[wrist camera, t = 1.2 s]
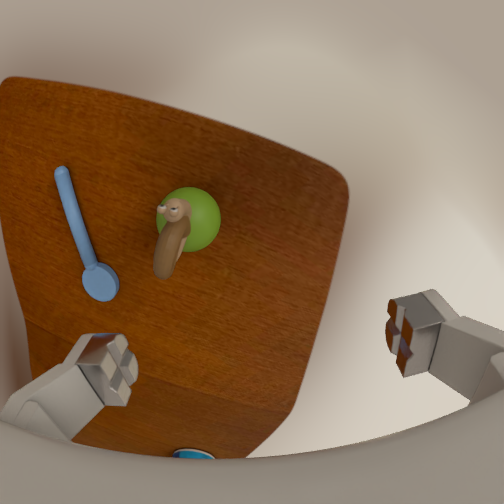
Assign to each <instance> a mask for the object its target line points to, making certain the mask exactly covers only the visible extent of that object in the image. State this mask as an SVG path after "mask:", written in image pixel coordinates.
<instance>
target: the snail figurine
mask: <svg viewBox="0 0 504 504" xmlns="http://www.w3.org/2000/svg"><path fill="white" fill-rule="evenodd" d="M156 223H157V228H158V231H159V234H160V235H159V238H158V240H157V244H156V247H155V252H154V264H153V269H154V273H155V275H156V276H157V277H158V278H160V279H167V278H169V277H170V276H171V275H172V273H173V270H174V267H175V264H176V261H177V260H178V258H179V256H180V255H181V253H182V251H183V252H194V251H198V250H200V249H203V248H205V247H206V246H208V245H209V244H210V243H211V242H212V241H213V240H214V238H215V237H216V235H217V233H218V231H219V228H220V223H221V215H220V210H219V207H218V205H217V203H216V202H215V200H214V199H213V198H212V197H211V196H210V195H209V194H208V193H207V192H205V191H203V190H201V189H198V188H194V187H184V188H180V189H177V190H175V191H173V192H171V193H170V194H168V195H167V196H166V197H165V198H164V199H163V201H162V202H161V204H160V205H159V206H158V207H157V217H156Z"/></svg>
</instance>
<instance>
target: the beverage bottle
mask: <svg viewBox="0 0 504 504" xmlns="http://www.w3.org/2000/svg"><path fill="white" fill-rule="evenodd" d="M173 458H193V459H215V458H214V457H213V456H212V455H210V454H209V453H207V452H204V451H201V450H196V449H179V450H177V451H175V452H174V454H173Z"/></svg>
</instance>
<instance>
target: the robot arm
mask: <svg viewBox="0 0 504 504" xmlns="http://www.w3.org/2000/svg"><path fill="white" fill-rule="evenodd" d="M387 312H388V313H389V315H390V316H391V317H390V319H389V320H388V321H387V323H386V330H385V334H386V341H387V345H388V347H389V350H390V352H391V353H393V354H395V355H397V359H396V364H397V366H398V367H399V370H400V371H401V374H402V376H403V377H408V376H412V375H415V374H419V373H423V372H426V371H429V373H430V374H432V375H433V376H435V377H436V378H438V379H439V380H441V381H442V382H444V383H445V384H447V385H448V386H449V387H451V388H452V389H454V390H455V391H457V392H458V393H460V394H461V395H463V396H464V397H466V398H467V399H469V400H470V403H469V405H468V406H467V407H465V408H463V409H460V410H458V411H456V412H453V413H451V414H449V415H446V416H443V417H441V418H438V419H435V420H433V421H430V422H427V423H424V424H421V425H418V426H416V427H412V428H409V429H406V430H403V431H400V432H396V433H393V434H390V435H386V436H382V437H379V438H375V439H371V440H368V441H363V442H359V443H355V444H350V445H345V446H340V447H335V448H330V449H324V450H318V451H312V452H305V453H298V454H289V455H281V456H270V457H257V458H236V459H193V458H173V457H160V456H149V455H140V454H132V453H125V452H118V451H112V450H106V449H101V448H96V447H91V446H86V445H81V444H77V443H73V442H72V441H71V439H72V438H73V437H74V436H75V435H76V434H77V433H78V432H79V431H80V430H81V429H82V428H83V427H84V426H85V425H86V424H87V423H88V422H89V421H90V420H91V419H92V418H93V417H94V416H95V415H96V414H97V413H98V412H99V411H100V410H101V409H102V408H103V407H104V405H112V406H126V405H127V402H128V400H129V397H130V395H131V392H132V390H131V388H130V385H132V384H133V383H134V382H135V381H136V379H137V376H138V363H137V359H136V357H135V355H134V354H133V353H132V352H131V351H130V350H128V349H127V348H128V344H129V343H128V341H127V339H126V337H125V335H123V334H121V333H100V334H84V335H81V337H80V338H79V340H78V341H77V343H76V344H75V346H74V347H73V348H72V350H71V351H70V353H69V354H68V356H67V357H66V359H65V360H64V362H63V363H62V364H58V365H56V366H55V367H53V368H52V369H50V370H49V371H47V372H46V373H44V374H42V375H41V376H39V377H38V378H36V379H35V380H33V381H32V382H30V383H29V384H27V385H26V386H24V387H23V388H21V389H20V390H18V391H17V392H15V393H13V394H12V395H11V397H10V398H9V400H8V401H7V403H6V404H5V406H4V407H3V409H2V411H1V412H0V504H504V331H502V330H499V329H497V328H494V327H492V326H489V325H486V324H484V323H481V322H478V321H476V320H473V319H471V318H468V317H465V316H462V317H460V316H459V315H458V314H457V313H456V312H455V311H454V310H453V308H452V307H451V306H450V305H449V304H448V303H447V302H446V301H445V300H444V298H443V297H442V296H441V295H440V294H439V293H438V292H437V291H436V290H434V289H430V290H427V291H423V292H419V293H417V294H413V295H408V296H405V297H400V298H395V299H390V300H389V303H388V310H387Z"/></svg>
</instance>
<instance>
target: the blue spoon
mask: <svg viewBox="0 0 504 504" xmlns="http://www.w3.org/2000/svg"><path fill="white" fill-rule="evenodd" d="M54 176H55V180H56V184H57V187H58V191H59V194H60V198H61V201H62V204H63V207H64V211H65V214H66V217H67V220H68V223H69V226H70V229H71V232H72V234H73V237H74V240H75V243H76V245H77V248H78V251H79V253H80V256H81V259H82V261H83V264H84V266H85V268H86V269H85V271H84V272H83V276H82V282H83V285H84V288H85V290H86V291H87V292H88V294H89V295H90V296H92V297H93V298H94V299H96V300H99V301H109V300H111V299H112V298H113V297H114V296H115V295H116V293H117V292H118V290H119V280H118V277H117V275H116V273H115V272H114V271H113V269H112V268H110V267H109V266H108V265H106V264H104V263H98V261H97V258H96V255H95V253H94V250H93V247H92V245H91V242H90V239H89V236H88V233H87V231H86V228H85V225H84V222H83V219H82V216H81V212H80V209H79V206H78V203H77V200H76V196H75V193H74V189H73V186H72V182H71V179H70V175H69V171H68V169H67V168H66V167H65V166H59V167H58V168H57V169H56V170H55V173H54Z"/></svg>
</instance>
